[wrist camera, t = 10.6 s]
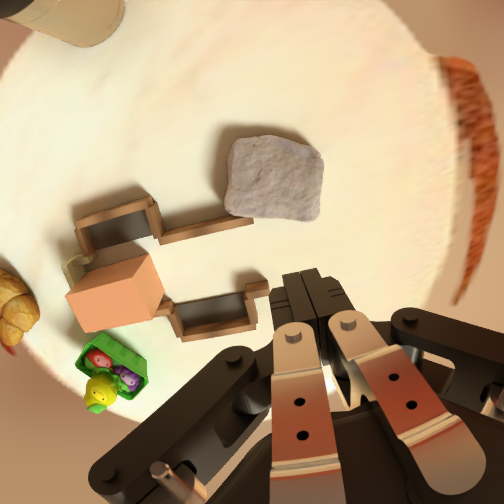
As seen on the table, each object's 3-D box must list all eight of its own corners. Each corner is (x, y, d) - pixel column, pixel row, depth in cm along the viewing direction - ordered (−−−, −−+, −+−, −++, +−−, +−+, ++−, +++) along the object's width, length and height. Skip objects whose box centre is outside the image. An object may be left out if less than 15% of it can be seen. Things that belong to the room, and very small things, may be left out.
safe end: (78, 254, 41) (66, 265, 38) (105, 317, 45) (97, 331, 42) (73, 255, 41) (61, 266, 38) (101, 318, 45) (91, 332, 42)
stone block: (227, 137, 38) (222, 215, 40) (228, 129, 34) (222, 217, 35) (318, 145, 39) (314, 220, 41) (330, 140, 35) (325, 224, 36)
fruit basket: (157, 360, 49) (141, 410, 38) (134, 385, 51) (118, 432, 41) (99, 322, 46) (72, 366, 35) (82, 351, 48) (57, 394, 38)
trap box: (242, 172, 38) (242, 175, 36) (275, 315, 46) (277, 325, 43) (66, 222, 40) (58, 228, 37) (118, 342, 47) (113, 351, 45)
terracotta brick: (149, 253, 42) (132, 277, 35) (165, 290, 44) (152, 319, 37) (87, 271, 43) (64, 296, 36) (103, 305, 45) (85, 333, 38)
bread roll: (-11, 272, 42) (-36, 292, 35) (13, 251, 41) (-15, 271, 34) (25, 329, 47) (5, 354, 39) (53, 314, 45) (31, 341, 38)
